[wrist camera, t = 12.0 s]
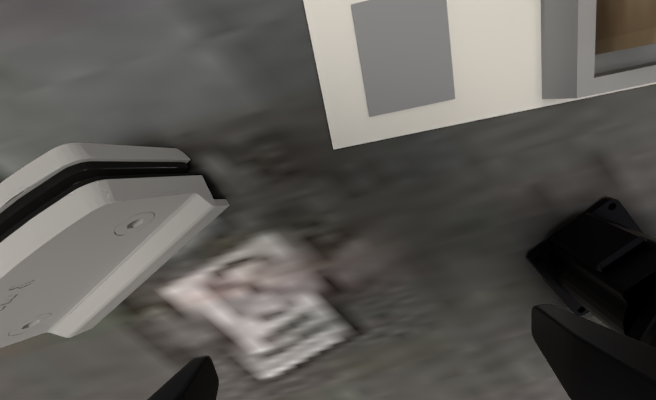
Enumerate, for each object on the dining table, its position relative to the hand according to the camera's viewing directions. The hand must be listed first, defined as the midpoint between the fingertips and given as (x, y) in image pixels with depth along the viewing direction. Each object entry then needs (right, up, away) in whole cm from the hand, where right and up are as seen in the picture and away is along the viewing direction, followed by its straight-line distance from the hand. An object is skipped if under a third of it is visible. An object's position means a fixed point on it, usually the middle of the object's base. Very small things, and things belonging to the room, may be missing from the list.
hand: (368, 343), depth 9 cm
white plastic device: (-16, +2, +14) cm, 22 cm away
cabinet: (+10, +14, +9) cm, 19 cm away
